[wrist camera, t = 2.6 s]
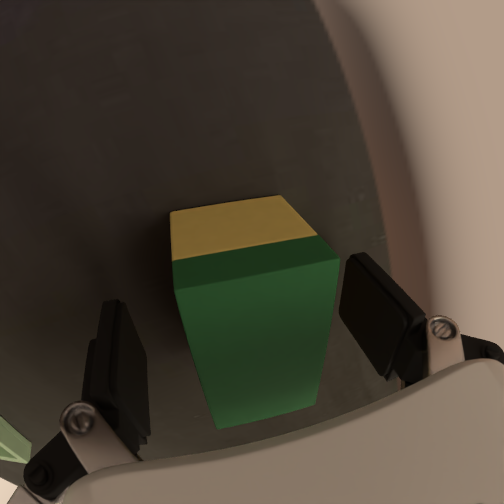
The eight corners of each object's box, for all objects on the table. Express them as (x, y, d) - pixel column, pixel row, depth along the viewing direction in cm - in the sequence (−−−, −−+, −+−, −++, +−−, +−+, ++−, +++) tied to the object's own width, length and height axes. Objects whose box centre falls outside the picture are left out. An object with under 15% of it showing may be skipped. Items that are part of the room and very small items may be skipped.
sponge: (169, 211, 10) (173, 291, 6) (280, 193, 11) (341, 258, 7) (199, 347, 14) (216, 430, 10) (280, 330, 15) (315, 404, 11)
